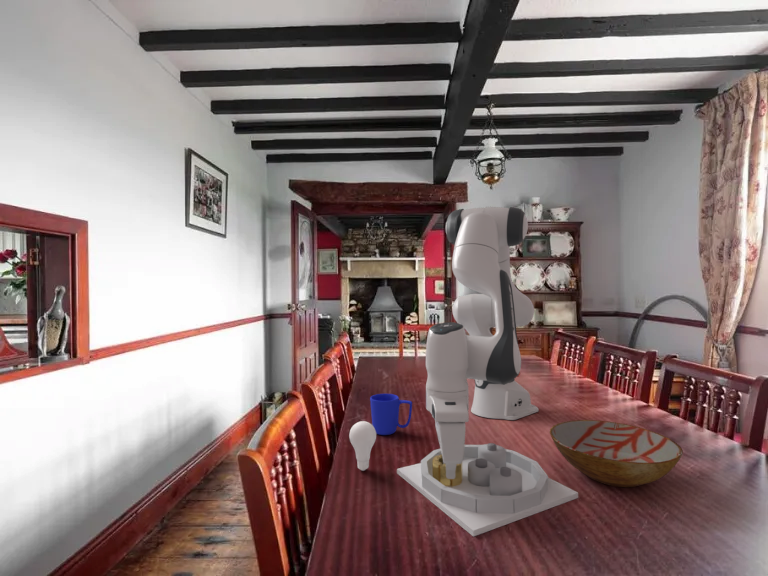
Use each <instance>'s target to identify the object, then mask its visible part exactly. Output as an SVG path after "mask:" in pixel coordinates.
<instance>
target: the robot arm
mask: <svg viewBox="0 0 768 576" xmlns="http://www.w3.org/2000/svg"><path fill="white" fill-rule="evenodd" d="M528 229H529V222H528V219H527V217H526V213H525V212H524V211H523V209H522V208H518V207H514V206H513V207H512V206H510V207H502V206H485V207H474V208H467V209H464V208H460V209H455V210H453V211H451V212H450V214H449V215H448V217H447V219H446V222H445V233H446V238H447V241H448V242H449V243H451V245H454V247H453V251H452V252H453V253H452V258H451V259H452V260H451V270H452V273H453V276H454V277H455V278H456V279H457V282H459V283H460V284H461V285H463V286H464V287H466V288H468V289H470V290H472V291H474V292H478V293H471V294H470V293H469V294H464V295H460V296H458V297H457V298H456V299H455V300H454V302H453V304H452V308H451V309H452V315H453V316H452V317H453V319H454V320H455V322H454V321H453V322H451V321H449V322H448V321H447V322H441V323H440V322H439V323H435V324H433V325H431V327H429V329H428V332H427V338H426V346H425V348H426V349H425V368H426V372H427V378H426V384H425V408H426V410H427V411H428V412H429V413H430V414H431V418H433V419H434V422H435V423H434V425H435V430H436V435H437V439H438V443H439V449H441V455H442V457H443V462H444V463H445V464H446V477H447V478H448V479H454V478H455V470H456V465H457V464H461V463H462V461H463V457H464V447H465V445H466V423H468V422H469V420H470V417H469V415H470V413H469V408H470V407H469V406H470V405H469V404H470V403H469V402H470V401H469V399H470V398H469V383H468V380H474V391H473V392H474V394H473V399H472V403H471V404H472V405H471V408H470V412H471V413H472V414H473V415H476V416H479V417H482V418H486V419H487V418H488V419H499V420H506V421H507V420H508V421H516V420H518V419H521V418H524V417H527V416H529V415H532V414H535V413H538V412H539V408H538V406H536V405H535V404H532V402H531V401H532V399H531V395H530V392H529V391H528V390H527V389H525V388H524V387H523V386H522V385H521V384H520V383H518V382H517V381H516V380H515V379H516V378H517V377H518V378H519V377H520V376H521V367H522V357H521V356H522V355H521V352H520V349H519V340H518V334H517V328H518V327H524V326H527V325H529V323H530V322H532V319H533V317H534V314H535V307H534V304H533V302H532V300H531V298H529V297H528V296H527V295H525V294H524V293H522V292H521V291H520V290H519V289H518V288H517V287H516V285H515V283H514V282H513V280H512V273H511V264H510V263H511V259H510V258H511V255H510V254H511V249H510V248H511V247H514V246H515V247H516V246H518V245H520V244H522V243H523V242H524V240H525V238H526V236H527V232H528ZM491 328H495V333H494V335H493V333H492V332H491ZM466 332H467V333H468V334H466Z"/></svg>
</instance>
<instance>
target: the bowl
mask: <svg viewBox="0 0 768 576" xmlns="http://www.w3.org/2000/svg"><path fill="white" fill-rule="evenodd" d="M549 435H550V437H551V439H552V441H553V443H554V445H555V447H556V448H557V450H558V451H559V453H560V454H561V455H562V456H563V457H564V459H565V460H566V461H567V462H568V463H569V464H570V465H571V466H572V467H574V468H575V469H576V470H578V471H580V472H581V473H582V474H584V475H585V476H587V477H589V479H592V480H594V481H596V482H597V483H602V484H604V485H607V486H611V487H617V488H633V487H634V488H635V487H638V486H642V485H647V484H650V483H653V482H655V481H658V480H660V479H661V478H663V477H665V476H666V475H667V474H668V473H669V472H670V471H672V470H673V469H674V467H675V466H676V465H677V464H678V463H679V461H680V459H681V458H682V456H683V455H684V453H683V449H682V447H681V446H680V444H678V443H677V442H676V441H674V440H672V439H671V438H670V437H667V436H665V435H663V434H661V433H658V432H655V431H653V430H649V429H647V428H642V427H639V426H635V425H632V424H627V423H626V424H625V423H623V422H622V423H621V422H616V421H615V422H614V421H608V420H597V419H596V420H595V419H576V420H568V421H562V422H558V423H557V424H554V425H553V426H552V427H550V429H549Z"/></svg>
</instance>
